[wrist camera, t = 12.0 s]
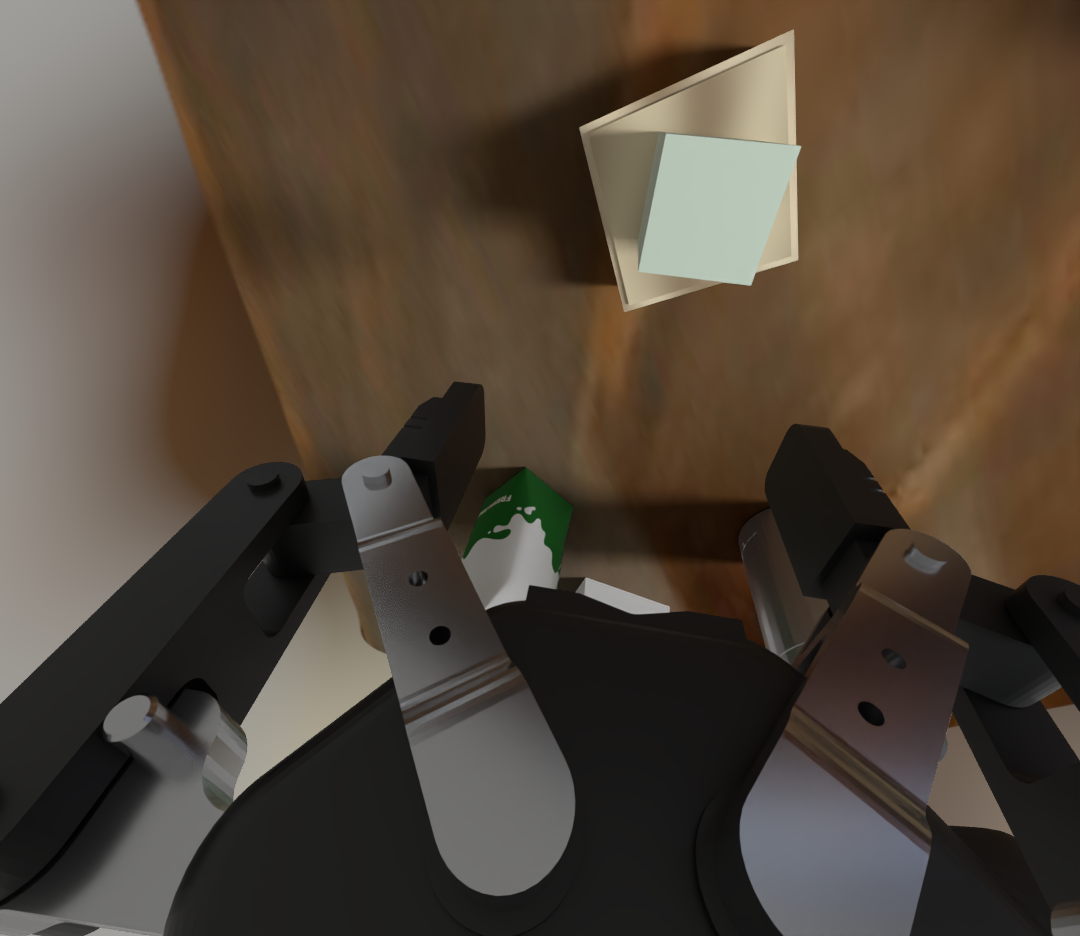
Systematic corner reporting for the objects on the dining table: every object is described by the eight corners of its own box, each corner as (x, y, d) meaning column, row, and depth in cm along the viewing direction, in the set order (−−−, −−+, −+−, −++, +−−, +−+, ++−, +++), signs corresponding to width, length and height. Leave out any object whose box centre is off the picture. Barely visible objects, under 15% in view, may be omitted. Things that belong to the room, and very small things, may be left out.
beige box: (761, 47, 24) (795, 28, 19) (771, 238, 29) (799, 260, 25) (587, 126, 27) (578, 127, 22) (624, 285, 33) (624, 313, 28)
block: (759, 141, 22) (801, 146, 16) (726, 250, 25) (751, 285, 19) (658, 131, 22) (665, 133, 17) (637, 240, 25) (637, 271, 20)
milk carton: (524, 456, 44) (468, 637, 29) (586, 508, 47) (565, 696, 32) (473, 497, 49) (401, 671, 33) (532, 541, 52) (491, 720, 36)
